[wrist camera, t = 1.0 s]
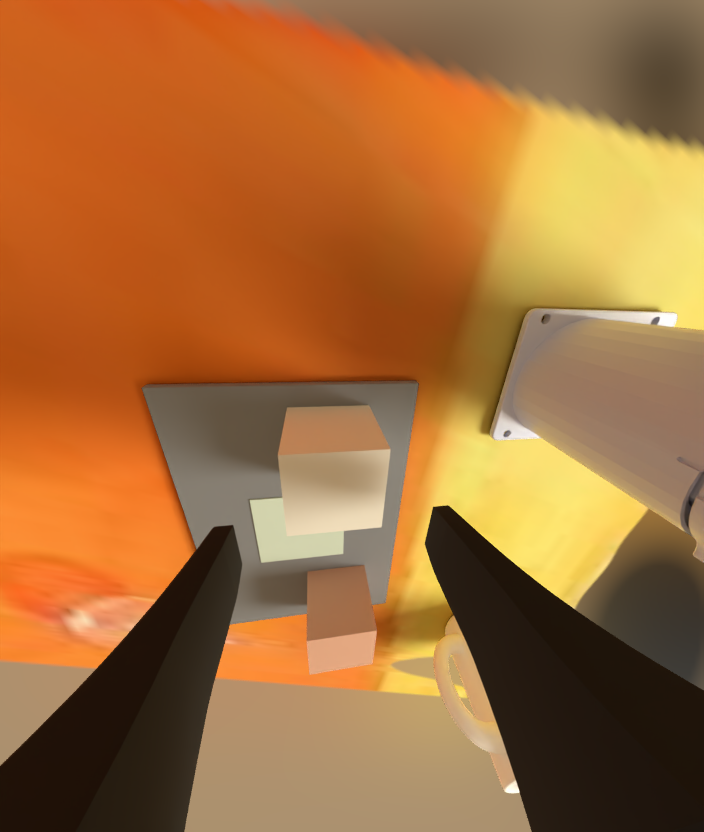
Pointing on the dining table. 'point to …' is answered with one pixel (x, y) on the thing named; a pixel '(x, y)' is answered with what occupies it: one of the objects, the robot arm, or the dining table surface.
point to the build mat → (274, 481)
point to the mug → (471, 701)
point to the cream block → (332, 469)
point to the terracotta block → (339, 619)
